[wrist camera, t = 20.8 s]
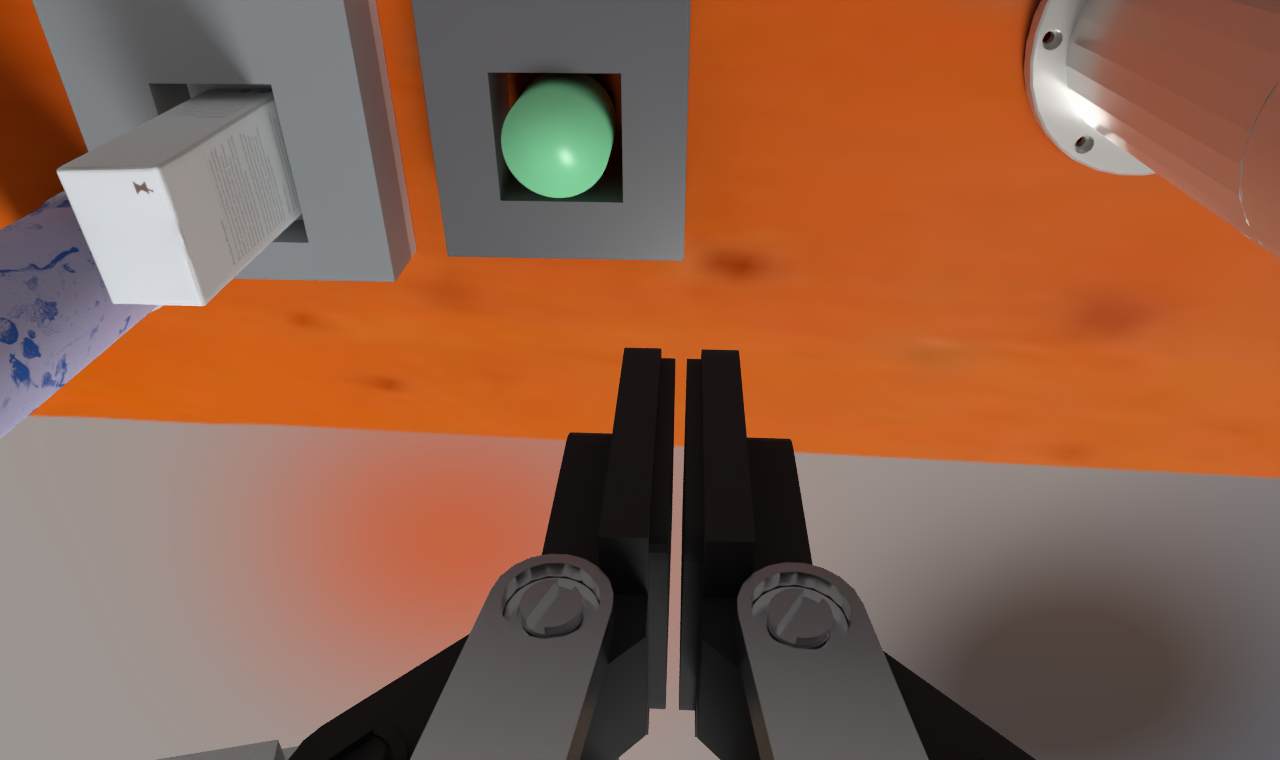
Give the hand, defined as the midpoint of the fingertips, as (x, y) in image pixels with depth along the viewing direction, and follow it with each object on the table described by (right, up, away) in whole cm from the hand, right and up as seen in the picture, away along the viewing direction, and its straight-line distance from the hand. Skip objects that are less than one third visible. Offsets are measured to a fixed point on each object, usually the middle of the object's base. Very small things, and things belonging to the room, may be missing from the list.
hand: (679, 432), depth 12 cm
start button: (-4, +14, +29) cm, 32 cm away
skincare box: (-20, +13, +30) cm, 38 cm away
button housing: (-4, +14, +29) cm, 33 cm away
